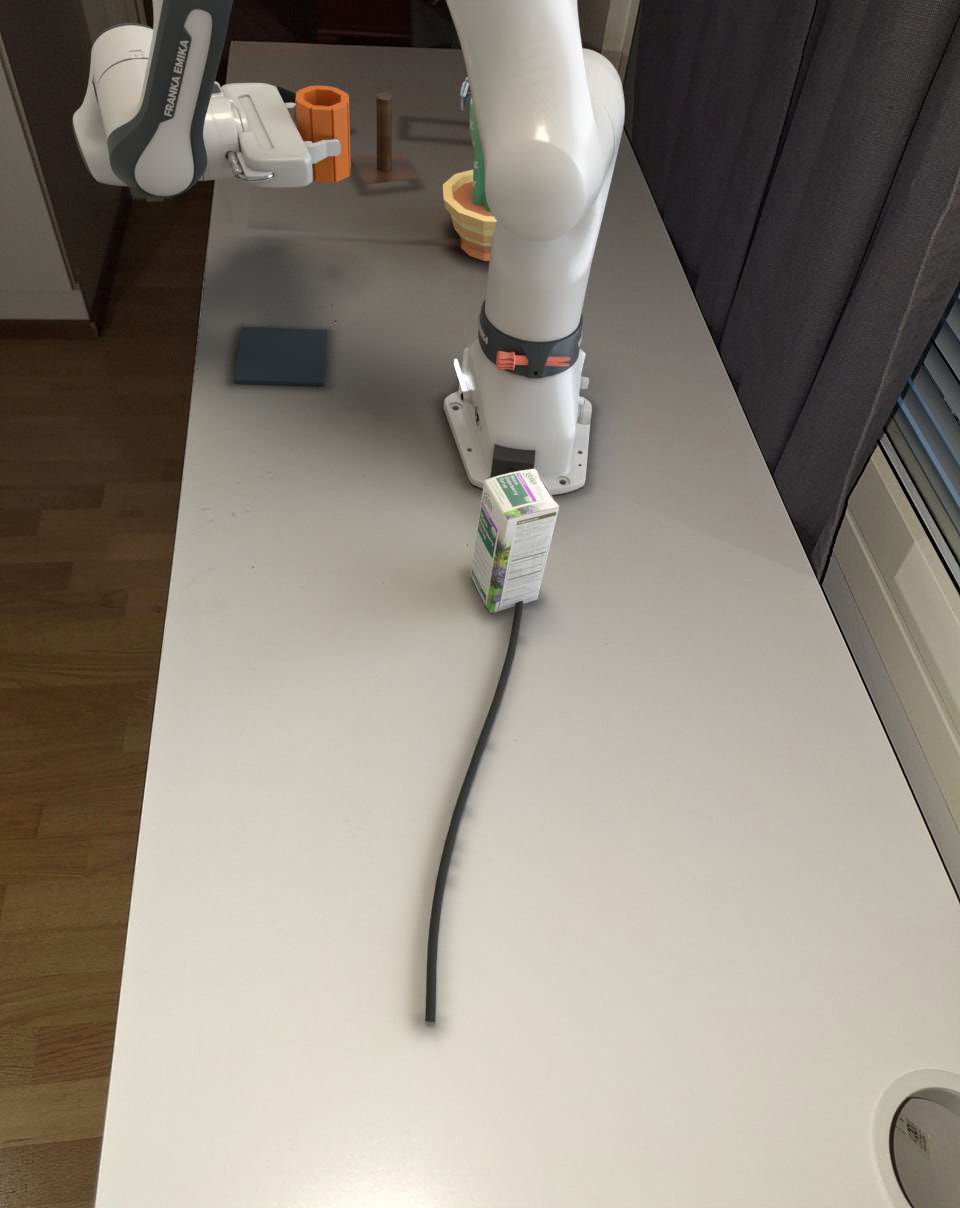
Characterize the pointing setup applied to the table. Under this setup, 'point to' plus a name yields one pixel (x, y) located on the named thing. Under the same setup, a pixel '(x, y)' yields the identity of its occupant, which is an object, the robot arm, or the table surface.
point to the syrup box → (513, 538)
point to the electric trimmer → (286, 95)
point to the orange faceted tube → (325, 127)
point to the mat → (281, 356)
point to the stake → (384, 151)
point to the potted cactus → (471, 196)
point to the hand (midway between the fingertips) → (330, 129)
